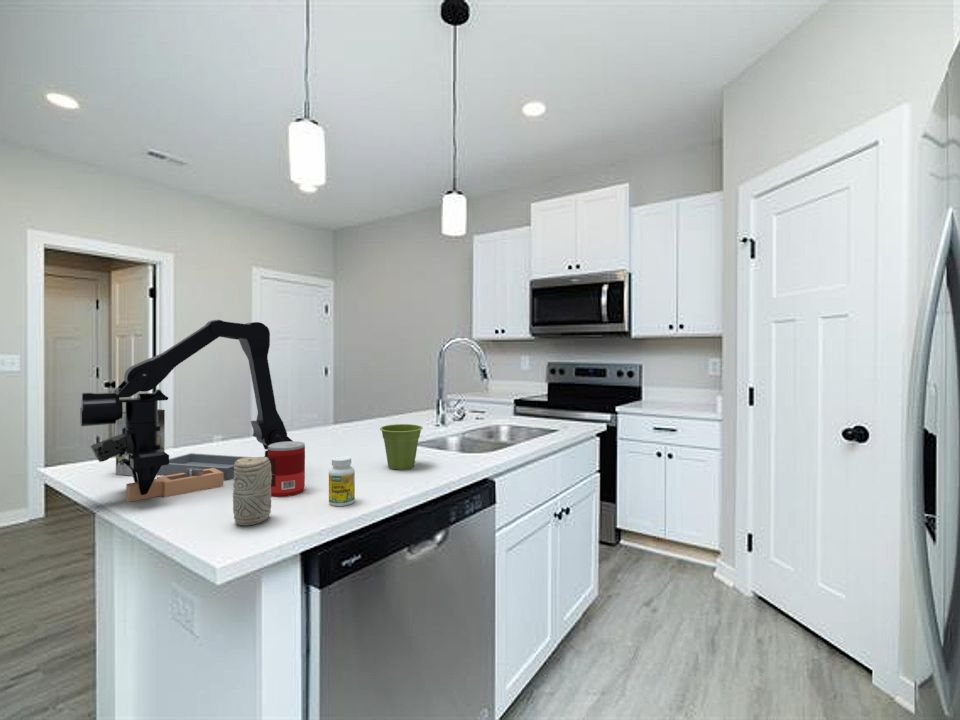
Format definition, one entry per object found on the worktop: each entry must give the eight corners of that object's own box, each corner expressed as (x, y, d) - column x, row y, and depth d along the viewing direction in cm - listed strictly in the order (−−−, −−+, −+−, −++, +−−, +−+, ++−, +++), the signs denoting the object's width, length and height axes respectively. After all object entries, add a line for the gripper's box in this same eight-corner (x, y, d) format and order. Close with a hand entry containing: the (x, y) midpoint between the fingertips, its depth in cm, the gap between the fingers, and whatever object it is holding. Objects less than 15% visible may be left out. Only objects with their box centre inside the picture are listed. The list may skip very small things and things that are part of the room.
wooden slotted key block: (213, 480, 117) (213, 467, 117) (223, 485, 113) (223, 472, 112) (124, 496, 103) (124, 482, 103) (131, 503, 99) (131, 488, 99)
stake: (204, 488, 110) (204, 468, 110) (197, 490, 109) (197, 470, 108) (189, 486, 111) (189, 467, 111) (183, 489, 109) (183, 469, 109)
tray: (259, 468, 129) (259, 457, 129) (227, 480, 117) (227, 468, 117) (190, 463, 134) (190, 453, 134) (153, 474, 122) (153, 463, 122)
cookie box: (135, 476, 120) (135, 413, 120) (114, 474, 121) (114, 412, 121) (166, 467, 129) (165, 409, 129) (146, 466, 130) (146, 408, 130)
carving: (225, 528, 86) (225, 463, 86) (245, 514, 93) (245, 454, 93) (259, 529, 86) (260, 463, 86) (277, 514, 93) (277, 454, 93)
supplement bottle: (355, 498, 104) (355, 455, 104) (354, 506, 99) (354, 460, 99) (329, 499, 103) (329, 456, 103) (327, 507, 98) (327, 461, 98)
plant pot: (370, 468, 131) (370, 427, 130) (400, 460, 140) (401, 422, 140) (401, 475, 124) (401, 432, 124) (431, 466, 134) (431, 426, 133)
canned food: (311, 489, 111) (312, 442, 111) (287, 498, 103) (287, 449, 103) (285, 485, 113) (285, 440, 113) (259, 495, 106) (260, 446, 106)
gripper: (87, 420, 103) (88, 491, 104) (102, 431, 91) (102, 511, 91) (148, 416, 112) (148, 481, 112) (169, 425, 99) (169, 499, 99)
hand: (142, 492), depth 103 cm, fingers closed on wooden slotted key block, 3 cm apart
